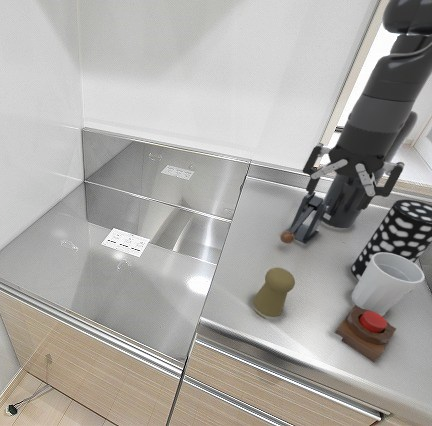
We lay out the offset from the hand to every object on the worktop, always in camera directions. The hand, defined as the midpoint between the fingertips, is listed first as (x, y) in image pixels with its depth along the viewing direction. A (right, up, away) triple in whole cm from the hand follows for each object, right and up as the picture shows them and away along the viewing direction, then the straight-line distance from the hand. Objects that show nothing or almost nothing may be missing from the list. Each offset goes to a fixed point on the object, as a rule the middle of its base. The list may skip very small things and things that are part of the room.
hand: (333, 200), depth 60 cm
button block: (+4, -27, -2) cm, 27 cm away
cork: (-12, -23, +4) cm, 27 cm away
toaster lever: (+4, -5, +17) cm, 18 cm away
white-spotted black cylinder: (+16, -18, +10) cm, 26 cm away
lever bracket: (+8, -9, +23) cm, 26 cm away
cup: (+10, -23, +4) cm, 25 cm away
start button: (+4, -24, -4) cm, 25 cm away
